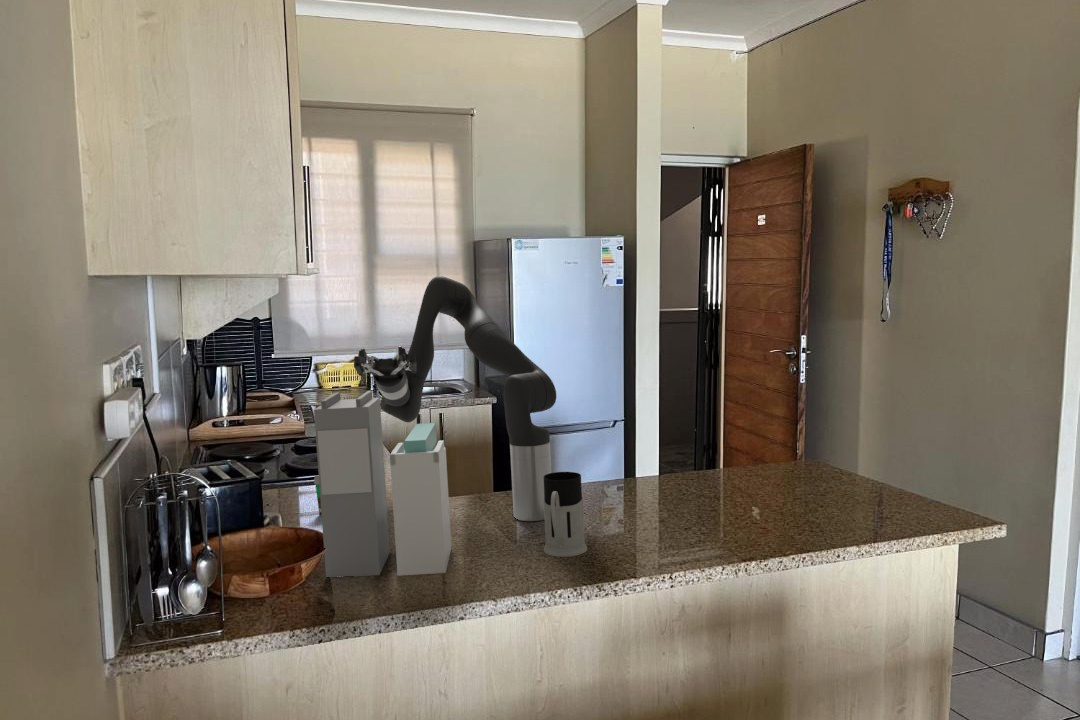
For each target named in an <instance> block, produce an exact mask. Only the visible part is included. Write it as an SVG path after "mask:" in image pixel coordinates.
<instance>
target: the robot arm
mask: <svg viewBox="0 0 1080 720" xmlns="http://www.w3.org/2000/svg"><path fill="white" fill-rule="evenodd" d="M422 296H423V297H422V300H421V304H420V308H419V312H418V316H417V319H416V324H415V329H414V333H413V336H412V340H411V342H410V343H411V344H410V347H409V350H408V351H406V349H405V347H402V346H401V345H399V346H398V349H397V351H398V353H397V355H395V356H394V357H391V358H390V357H389V358H388V357H387V358H379V357H376V356H374V355H372V356H369V355H368V354H367V351H366V349H365V348H364V347H363V348H360V350H358V356H357V355H355V356H354V357H353V367H354V369H355V371H356V373H357V375H358V376H359V377H363V376H364V375H365V373H370V374H371V375H373V379H374V382H375V384H376V387H377V389H378V390H379V392H380V394H381V396H382V397H381V398H380V410H382V411H383V412H385V413H386V414H388V415H389V416H392V417H394V418H396V419H399V420H400V421H402V422H405V423H412V422H413V421H414V420H416V419H417V418H418V417H419V415H420V411H421V406H422V400H423V399H422V397H423V392H424V386H425V382H426V381H427V377H428V375H429V373H430V371H431V368H432V366H433V362H434V358H435V344H434V326H435V322H436V320H437V317H438V315H439V313H440V314H442V315H446V316H449V317H451V318H453V319H454V320H455V321H457V322H458V323H459V324H460V325H461V326H462V327H463V329H464V342H465V344H466V346H467V347H468V349H469V350H470V351H471V353H472V354H473V355H474V356H475V357H476V359H477V360H478V361H479V362H480V363H481V364H483V365H484V366H486V367H488V368H490V369H491V370H494V371H495V372H498V373H500V374H503V375H504V376H508V377H507V378H506V380H505V382H504V385H503V406H504V416H505V425H506V431H507V434H508V437H509V449H510V450H509V452H510V470H511V473H510V474H511V490H512V493H511V494H512V511H513V518H514V517H515V518H516V519H515V518H514V519H515V520H517V519H518V521H523V522H538V521H545V517H544V478H543V477H544V475H546V474H550V473H552V463H551V461H552V460H551V459H552V458H551V438H550V437H551V436H550V431H549V430H548V429H547V428H545V427H543V426H542V427H541V426H539V425H535V424H534V423H533V421H532V417H531V414H535V413H540V412H544V411H547V410H550V409H551V408H553V407H554V406H555V404H556V401H557V390H556V389H557V388H556V387H555V384H554V382H553V380H552V379H551V377H550V376H549V375H548V374H547V373H546V372H545V371H544V370H543V369H542V368H541V367H539V366H538V365H537V364H536V363H535V362H533V360H531V359H530V358H529V357H528V356H527V355H526V354H525V353H523V352H524V351H522V350H521V349H520V348H519V347H518V346H517V345H516V344H515V342H513V340H511V339H510V337H509V336H508V334H506V332H505V331H504V330H503V328H501V326H499V325H498V324H497V322H495V321H494V320H493V318H492V317H491V316H490V315H489V314H488V312H486V310H485V309H483V308H482V306H481V305H480V304H479V302H478V300H477V299H476V297H475V296H474V294H473V293H472V291H471V290H470V289H469V287H468V286H467V285H466V284H463V283H462V282H460V281H457V280H454V279H452V278H448V277H446V276H443V275H437V276H434V277H433V278H432V279H430V281H429V282H428V283H427V285H426V288H425V290H424V293H423V295H422Z"/></svg>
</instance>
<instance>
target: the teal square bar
mask: <svg viewBox="0 0 1080 720" xmlns="http://www.w3.org/2000/svg"><path fill="white" fill-rule="evenodd" d="M436 424H437V423H436V422H428V423H426V422H425V423H416V424H415V426H414V427H413V428H412V429H411V431H410V432H409V434H408V435H407V437H406V438H405V439H404V450H405V453H411V452H429V451H432V450H433V448H435V447H436V445H437V443H438V441H437V425H436Z"/></svg>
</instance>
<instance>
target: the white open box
mask: <svg viewBox="0 0 1080 720" xmlns="http://www.w3.org/2000/svg"><path fill="white" fill-rule="evenodd" d="M389 464H390V478H391V480H390V481H391V495H392V496H391V497H392V510H393V513H392V514H393V524H394V525H393V528H394V539H395V540H394V541H395V543H394V544H395V555H396V556H395V557H396V558H395V559H396V560H395V561H396V571H397V572H396V573H397V576H400V577H401V576H416V575H428V574H432V575H434V574H445V573H447V569H448V565H449V561H450V556H451V551H452V548H451V547H452V533H451V516H450V515H451V514H450V502H449V501H450V500H449V484H448V483H449V482H448V480H449V479H448V468H447V467H448V466H447V465H448V464H447V450H446V447H445V440H444V439H443V440H438V441H437V442H436V444H435V446H434V448H433V450H432V451H429V452H411V453H405V445H404V442H398V443H397V444H396V446H395V447H394V448H393V449H392V451H391V453H390V454H389Z"/></svg>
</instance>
